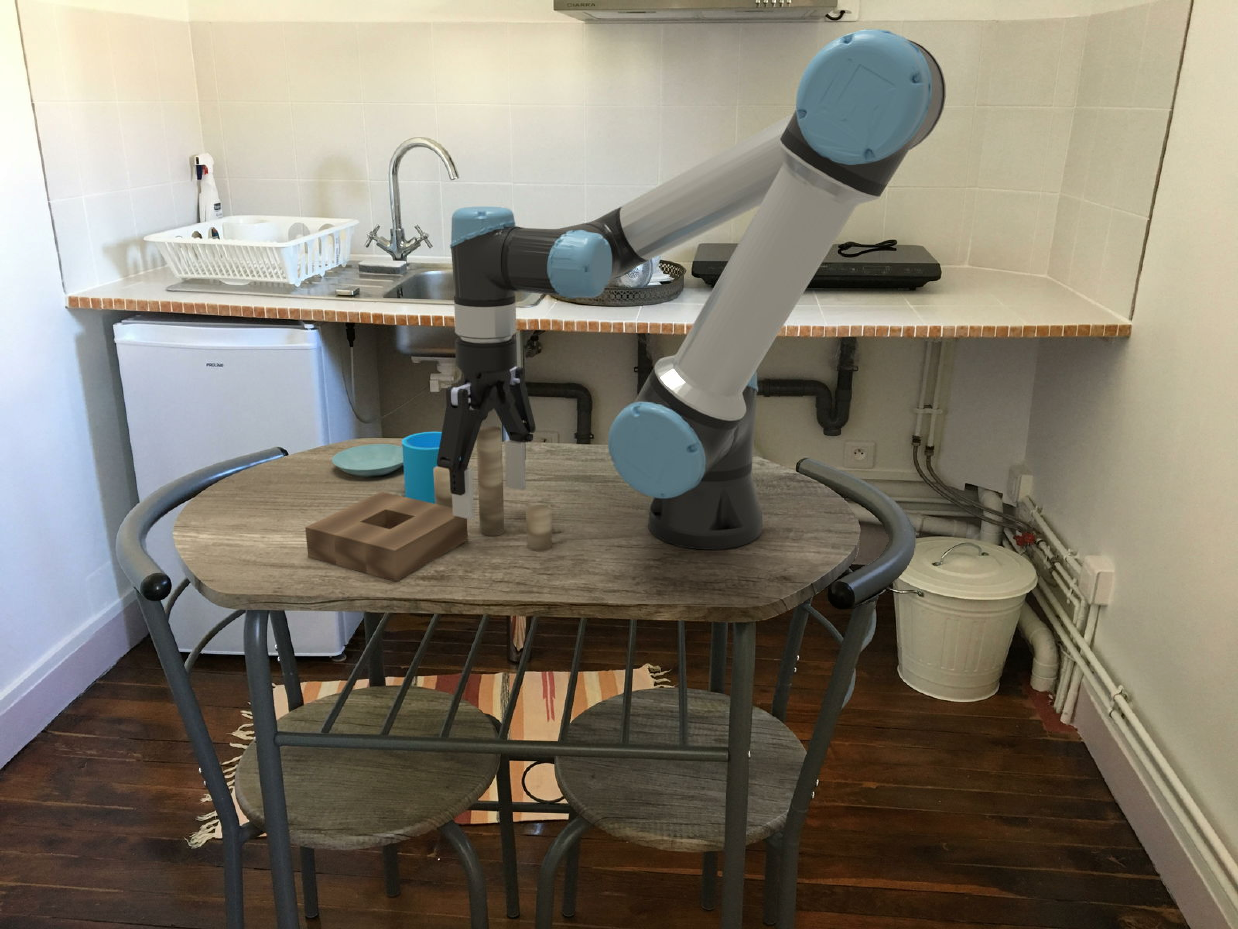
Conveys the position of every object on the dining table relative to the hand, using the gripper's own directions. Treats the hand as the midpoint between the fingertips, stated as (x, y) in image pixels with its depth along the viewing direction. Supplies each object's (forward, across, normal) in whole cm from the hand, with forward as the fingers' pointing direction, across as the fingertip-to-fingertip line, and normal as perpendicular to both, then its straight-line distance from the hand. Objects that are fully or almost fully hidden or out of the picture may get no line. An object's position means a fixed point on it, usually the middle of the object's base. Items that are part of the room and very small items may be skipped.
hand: (490, 501), depth 132 cm
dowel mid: (+4, -1, -8) cm, 9 cm away
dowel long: (+4, 0, 0) cm, 4 cm away
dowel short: (+4, +1, +8) cm, 9 cm away
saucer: (+5, -11, -30) cm, 32 cm away
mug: (+4, -9, -15) cm, 18 cm away
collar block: (+4, +11, -8) cm, 14 cm away
